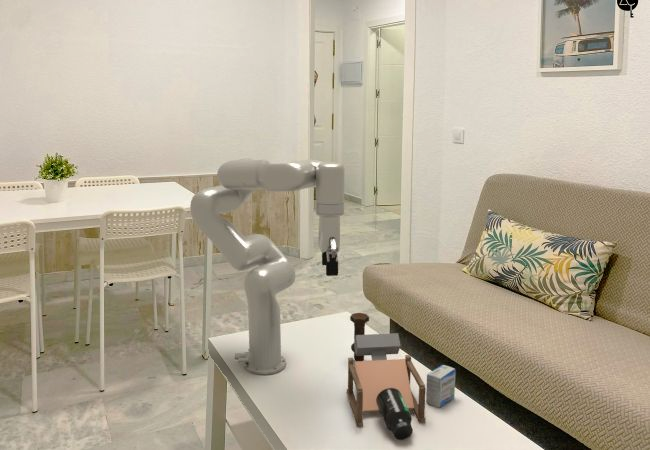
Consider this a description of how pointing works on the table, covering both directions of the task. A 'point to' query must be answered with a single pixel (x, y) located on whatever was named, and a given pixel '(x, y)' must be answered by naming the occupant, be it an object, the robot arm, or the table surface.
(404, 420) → the supplement bottle
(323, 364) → the table surface
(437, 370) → the medicine box
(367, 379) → the trapdoor
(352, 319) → the bolt
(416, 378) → the small wooden stool
